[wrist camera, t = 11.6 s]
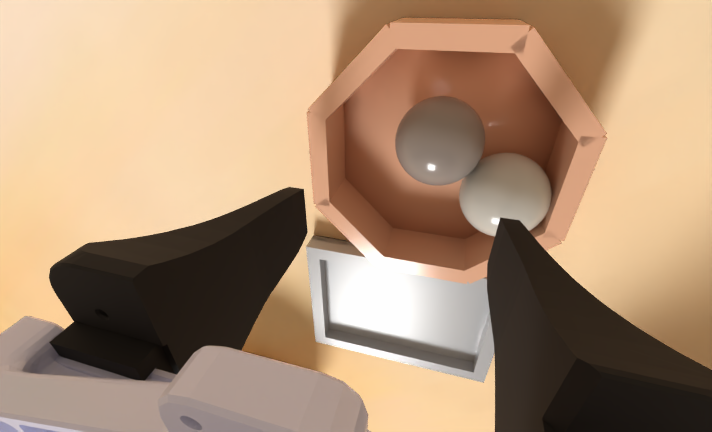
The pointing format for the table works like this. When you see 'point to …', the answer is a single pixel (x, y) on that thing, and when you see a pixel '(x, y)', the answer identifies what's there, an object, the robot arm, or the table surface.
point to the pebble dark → (440, 140)
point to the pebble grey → (505, 192)
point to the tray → (398, 312)
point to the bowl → (502, 134)
